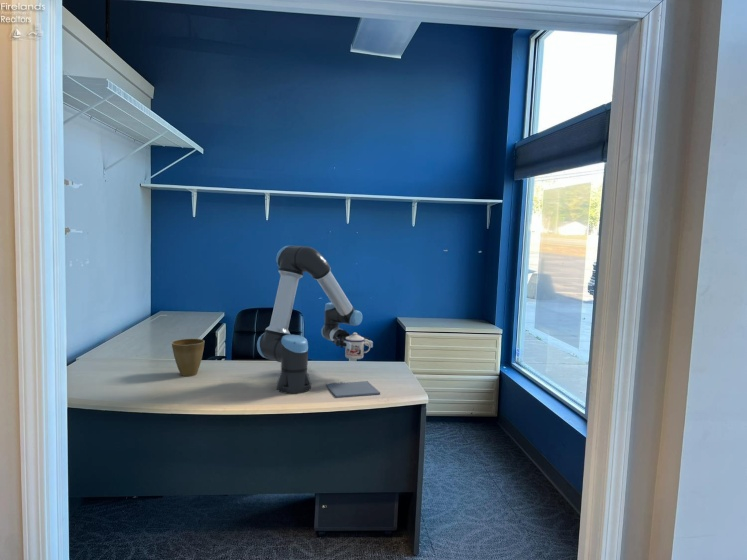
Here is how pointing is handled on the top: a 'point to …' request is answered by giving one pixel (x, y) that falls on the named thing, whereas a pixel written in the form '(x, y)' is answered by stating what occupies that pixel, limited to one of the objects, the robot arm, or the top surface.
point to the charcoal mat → (352, 389)
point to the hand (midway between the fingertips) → (361, 345)
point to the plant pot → (188, 355)
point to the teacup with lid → (355, 347)
